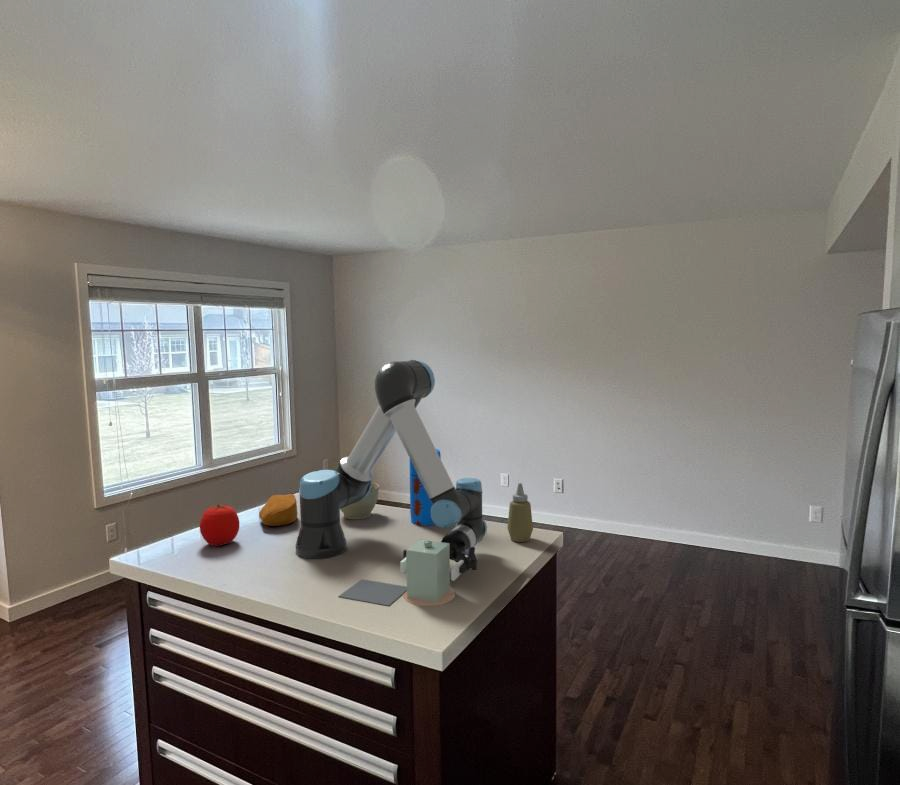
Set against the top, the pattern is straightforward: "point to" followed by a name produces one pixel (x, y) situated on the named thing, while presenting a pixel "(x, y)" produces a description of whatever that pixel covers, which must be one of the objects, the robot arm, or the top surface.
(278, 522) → the bread
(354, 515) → the planter bowl
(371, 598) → the mat
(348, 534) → the top surface
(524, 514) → the squeeze bottle
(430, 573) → the cover
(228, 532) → the red apple
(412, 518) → the thermos
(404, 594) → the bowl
